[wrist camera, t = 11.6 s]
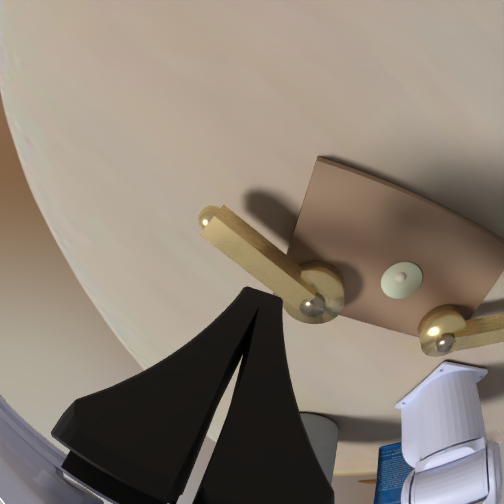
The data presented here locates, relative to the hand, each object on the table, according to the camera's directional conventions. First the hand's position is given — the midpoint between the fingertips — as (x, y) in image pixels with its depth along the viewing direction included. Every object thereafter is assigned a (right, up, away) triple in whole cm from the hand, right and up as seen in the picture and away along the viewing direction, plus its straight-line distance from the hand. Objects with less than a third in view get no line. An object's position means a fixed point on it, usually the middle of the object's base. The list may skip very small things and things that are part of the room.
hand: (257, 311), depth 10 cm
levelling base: (+10, +1, +8) cm, 13 cm away
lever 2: (+18, -3, +7) cm, 19 cm away
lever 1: (+1, +2, +8) cm, 9 cm away
